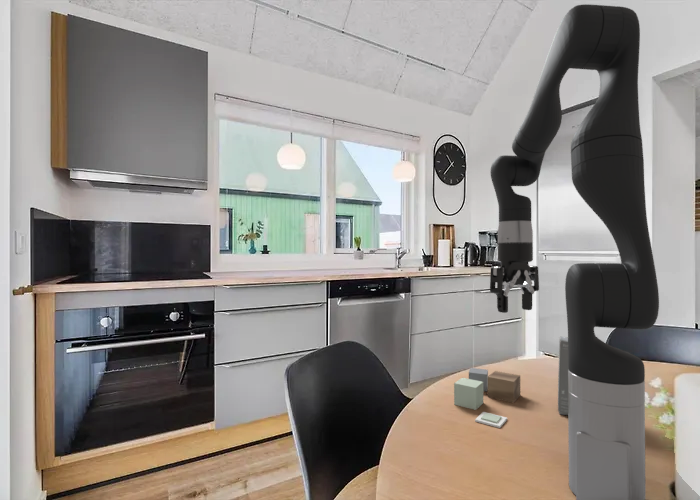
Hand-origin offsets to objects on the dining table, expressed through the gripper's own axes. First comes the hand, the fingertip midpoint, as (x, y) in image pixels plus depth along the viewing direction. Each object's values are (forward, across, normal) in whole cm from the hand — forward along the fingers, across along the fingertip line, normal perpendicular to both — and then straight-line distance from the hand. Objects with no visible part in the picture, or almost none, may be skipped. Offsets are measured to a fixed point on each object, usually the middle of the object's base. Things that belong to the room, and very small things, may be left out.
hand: (515, 310), depth 90 cm
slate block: (+21, 0, +12) cm, 24 cm away
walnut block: (+22, +1, +4) cm, 22 cm away
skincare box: (+22, +8, -10) cm, 25 cm away
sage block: (+21, -10, +5) cm, 24 cm away
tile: (+21, -13, -4) cm, 25 cm away
